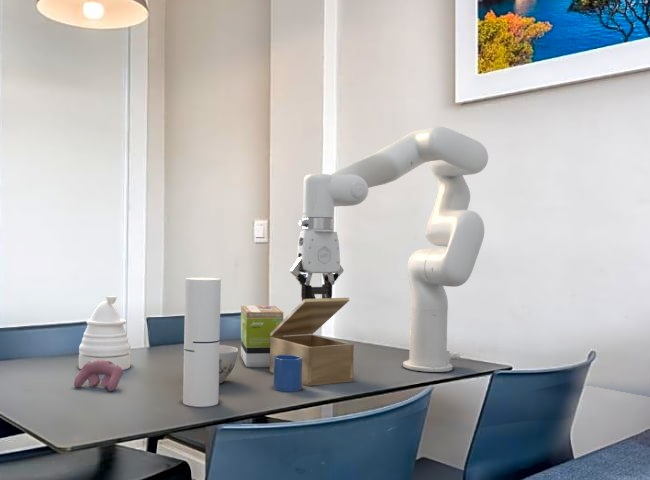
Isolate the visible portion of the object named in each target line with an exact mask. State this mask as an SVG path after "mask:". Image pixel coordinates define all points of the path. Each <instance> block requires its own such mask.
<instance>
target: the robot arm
mask: <svg viewBox="0 0 650 480" xmlns="http://www.w3.org/2000/svg"><path fill="white" fill-rule="evenodd" d="M488 162H489V154H488V151H487V149H486V147H485V146H484V145H483V143H481V142H480V141H479V140H477V139H474V138H472V137H470V136H468V135H465V134H463V133H460V132H459V131H456V130H453V129H450V128H448V127H445V126H431V127H426V128H422V129H418V130H413V131H412V132H409V133H408V134H406V135H404V136H402V137H400V138H399V139H397V140H395V141H394V142H392V143H390V144H389V145H387V146H384V147H383V148H382V149H380V150H378V151H376V152H374V153H371V154H369V155H367V156H365V157H363V158H361V159H359V160H356V161H354V162H352V163H349V164H348V165H346V166H344V167H341V168H340V169H338V170H336V171H334V172H333V173H331V174H327V173H310V174H306V175H305V176H304V178H303V183H302V219H301V220H299V221H298V226H299V227H301V229H302V230H301V231H299V235H298V241H297V247H296V260H295V263H293V265H292V267H290V269H289V273H291V274H292V276H294V277H295V279H296V280H297V281H298V283H299V285H301V289H300V290H301V293H300V294H301V295H300V296H301V297H300V298H301V302H302V301H303V300H304V299H312V287H313V286H312V285H310V283H311V280H312V277H313V274H321V276H322V280H323V283H324V284H321V287H328V289H329V292H328V295H329V298H333V286H334V285H335V282H336V281H337V280H338V279H339V277H340V276H341V275H342V274H343V273H344V271H345V270H344V268H343V266H342V265H341V252H340V242H339V237H338V236H339V235H338V232H337V231H335V208H336V207H349V206H350V207H351V206H352V207H353V206H357V205H360V204H362V203H363V202H364V201H365V200H366V199H367V197H368V194H369V189H370V188H373V187H378V186H382V185H387V184H388V183H391V182H395V181H396V180H398V179H400V178H401V177H403V176H404V175H406V174H408V173H410V172H412V171H413V170H415V169H416V168H418V167H419V166H421V165H423V164H425V163H429V168H430V170H431V172H432V174H433V176H434V178H435V181H436V183H437V184H436V185H437V196H436V199H435V202H434V205H433V207H432V211H431V213H430V216H429V218H428V221H427V224H426V227H425V238H426V240H427V242H429V243H430V244H431V245H434V246H437V247H445V248H436V247H427V248H426V247H425V248H424V247H423V248H421V249H417V250H415V251H414V252H413V253H412V254H411V255H410V256H409V258H408V261H407V268H406V269H407V276H408V277H407V278H408V281H409V290H410V292H409V293H410V309H409V315H410V316H409V346H408V347H409V351H408V352H409V354H408V359H407V360H404V361H403V362H402V366H403V368H405V369H407V370H411V371H416V372H423V373H425V372H426V373H448V372H450V371H453V365H452V363H450V362H451V361H452V360H459V359H460V355H461V354H460V353H459V352H458V351H455V352H454V351H453V352H450V350H447V348H448V347H447V346H448V345H447V344H448V310H449V301H448V296H447V292H446V289H445V287H451V288H452V287H454V288H455V287H461V286H462V285H464V284H466V282H467V281H468V280H469V279H470V277H471V275H472V273H473V271H474V268H475V265H476V262H477V259H478V256H479V252H480V250H481V247H482V245H483V241H484V238H485V224H484V220H483V219H482V218H483V217H481V215H480V214H478V213H477V212H476V211H473V210H469V205H470V203H471V191H470V188H469V186H468V183H467V181H466V180H465V177H464V176H468V175H469V176H470V175H476V174H479V173H481V172H482V171H483V170H485V168H486V167H487V166H488ZM321 298H325V295H324V294H321Z"/></svg>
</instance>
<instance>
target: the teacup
mask: <svg viewBox="0 0 650 480" xmlns="http://www.w3.org/2000/svg"><path fill="white" fill-rule="evenodd" d="M238 354H239V348H237V347H236V346H230V345H225V344H219V384H222V383H224V380H225V379H227V377H229V375H230V374H231V373H232V371H233V369H234V367H235V365H236V362H237V359H238Z"/></svg>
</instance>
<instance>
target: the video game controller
mask: <svg viewBox="0 0 650 480" xmlns="http://www.w3.org/2000/svg"><path fill="white" fill-rule="evenodd" d="M123 374H124V370H122V368H121V367H119V366H118V365H117V364H115V363H112V362H110V361H104V360H97V361H92V362H91V361H88V362H87V364H85V365H84V366H83V367H82V369H80V370H79V372H78V373H77V375H76V377H75V378H74V381H73V386H74V388H76V389H79V388H80V387H82V386H83V385H84V384H85V383H86V382H87V380H88V384H89V385H90V386H92V387H97V386H99V385H100V384H101V386H102V387H104V388H107V390H108V391H109V392H113V391H114V390H115V389H116V388H117V387H118V385H119V383H120V380H121V378H122V377H123ZM100 375H104V376H103V377H102V378H100Z"/></svg>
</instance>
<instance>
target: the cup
mask: <svg viewBox="0 0 650 480" xmlns="http://www.w3.org/2000/svg"><path fill="white" fill-rule="evenodd" d="M272 380H273V382H272V383H273V384H272V385H273V389H274V390H276V391H279V392H287V393H288V392H291V393H292V392H299V391H301V390H302V386H303V384H302V357H300V356H296V355H277V356H274V373H273V379H272Z"/></svg>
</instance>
